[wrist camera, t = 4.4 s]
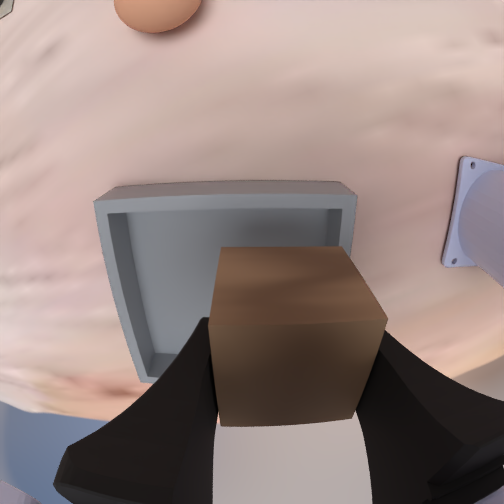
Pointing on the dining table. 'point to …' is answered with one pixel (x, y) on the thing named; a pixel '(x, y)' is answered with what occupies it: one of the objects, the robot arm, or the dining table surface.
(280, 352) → the cube
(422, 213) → the dining table surface
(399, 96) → the dining table surface
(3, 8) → the condiment
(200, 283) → the tray
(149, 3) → the ball
